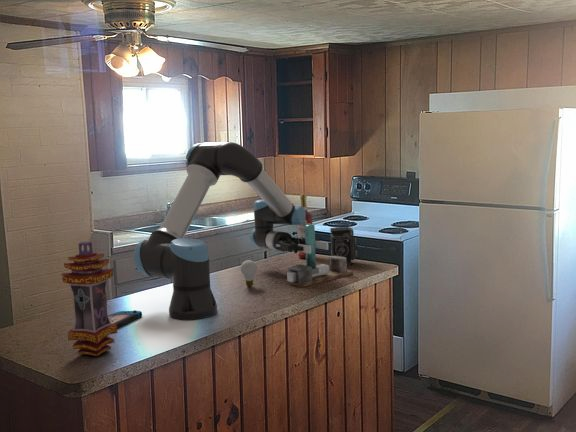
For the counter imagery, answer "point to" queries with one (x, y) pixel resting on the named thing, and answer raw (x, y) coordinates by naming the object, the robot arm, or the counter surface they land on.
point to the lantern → (89, 301)
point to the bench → (336, 270)
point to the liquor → (302, 227)
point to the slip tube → (310, 257)
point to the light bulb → (248, 271)
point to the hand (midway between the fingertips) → (319, 247)
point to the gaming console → (124, 317)
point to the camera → (343, 243)
